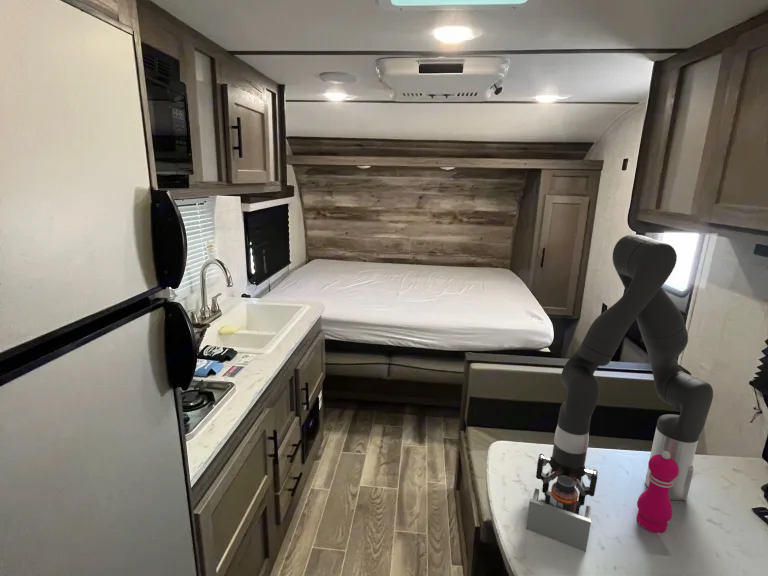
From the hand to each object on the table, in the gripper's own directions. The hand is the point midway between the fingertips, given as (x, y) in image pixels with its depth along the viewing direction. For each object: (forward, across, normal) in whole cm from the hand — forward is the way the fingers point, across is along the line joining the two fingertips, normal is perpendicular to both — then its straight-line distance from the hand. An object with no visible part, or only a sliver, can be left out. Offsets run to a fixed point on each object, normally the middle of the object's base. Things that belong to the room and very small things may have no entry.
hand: (562, 499), depth 109 cm
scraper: (+2, 0, -2) cm, 2 cm away
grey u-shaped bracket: (+1, 0, +8) cm, 8 cm away
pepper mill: (+2, -20, -4) cm, 20 cm away
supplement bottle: (+2, 0, +6) cm, 6 cm away
